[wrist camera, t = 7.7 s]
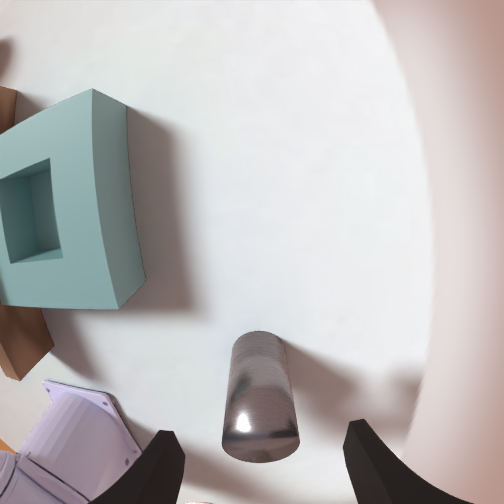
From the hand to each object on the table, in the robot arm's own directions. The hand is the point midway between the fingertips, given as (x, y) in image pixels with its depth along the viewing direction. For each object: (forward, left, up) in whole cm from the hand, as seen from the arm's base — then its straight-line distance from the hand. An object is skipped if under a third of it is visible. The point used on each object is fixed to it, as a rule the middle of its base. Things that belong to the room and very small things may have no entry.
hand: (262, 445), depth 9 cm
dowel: (0, 0, -7) cm, 7 cm away
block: (+10, +11, -7) cm, 17 cm away
